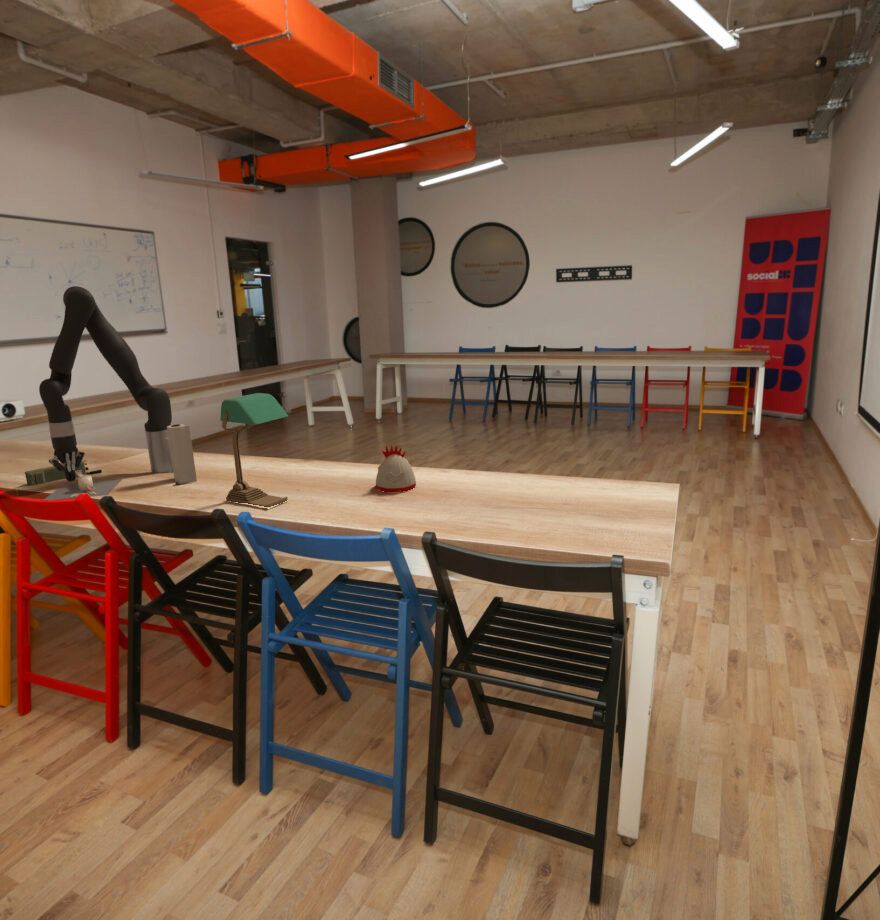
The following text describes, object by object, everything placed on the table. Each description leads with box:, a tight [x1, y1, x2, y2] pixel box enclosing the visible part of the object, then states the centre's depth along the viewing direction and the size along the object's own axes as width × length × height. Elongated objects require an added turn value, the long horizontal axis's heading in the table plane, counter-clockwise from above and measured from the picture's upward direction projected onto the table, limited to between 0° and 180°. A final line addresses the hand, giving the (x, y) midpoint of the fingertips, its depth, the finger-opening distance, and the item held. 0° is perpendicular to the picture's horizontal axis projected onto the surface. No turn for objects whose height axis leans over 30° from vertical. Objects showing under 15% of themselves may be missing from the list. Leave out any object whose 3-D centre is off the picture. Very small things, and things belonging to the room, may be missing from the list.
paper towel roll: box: [167, 423, 198, 485], centre depth 225 cm, size 7×6×21 cm
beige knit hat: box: [375, 444, 417, 493], centre depth 213 cm, size 14×14×15 cm
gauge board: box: [43, 478, 123, 501], centre depth 219 cm, size 20×20×2 cm
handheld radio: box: [24, 459, 103, 487], centre depth 234 cm, size 7×3×25 cm
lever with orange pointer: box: [75, 470, 94, 492], centre depth 220 cm, size 22×4×4 cm, turn 40°
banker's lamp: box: [220, 392, 289, 507], centre depth 198 cm, size 16×21×35 cm
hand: (71, 480), depth 224 cm, fingers closed
